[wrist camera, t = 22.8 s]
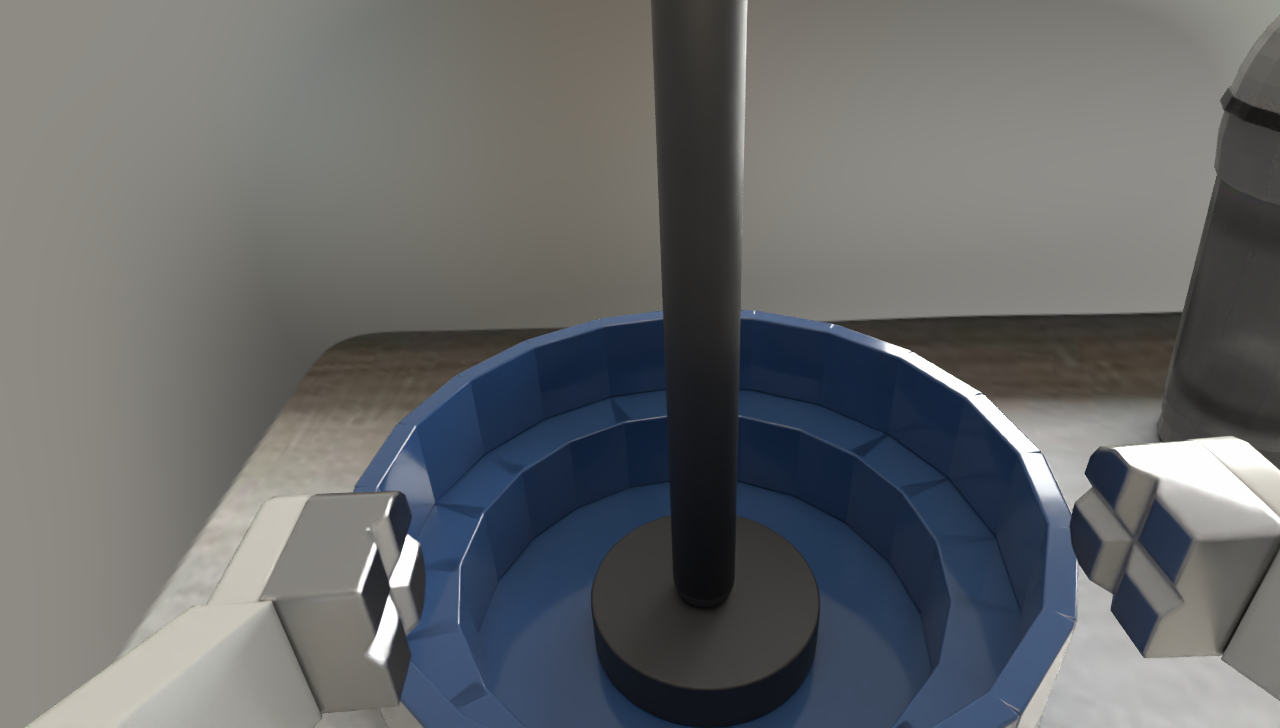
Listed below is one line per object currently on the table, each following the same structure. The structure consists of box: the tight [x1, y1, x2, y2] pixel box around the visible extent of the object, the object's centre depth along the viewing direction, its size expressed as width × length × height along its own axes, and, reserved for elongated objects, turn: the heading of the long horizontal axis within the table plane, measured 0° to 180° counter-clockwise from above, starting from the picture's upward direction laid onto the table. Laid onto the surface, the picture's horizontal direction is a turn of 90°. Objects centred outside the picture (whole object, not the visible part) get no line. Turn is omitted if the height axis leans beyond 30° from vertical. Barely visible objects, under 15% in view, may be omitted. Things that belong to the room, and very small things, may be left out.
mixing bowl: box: [353, 310, 1078, 728], centre depth 20 cm, size 16×16×6 cm
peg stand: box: [591, 0, 820, 727], centre depth 17 cm, size 6×6×18 cm
